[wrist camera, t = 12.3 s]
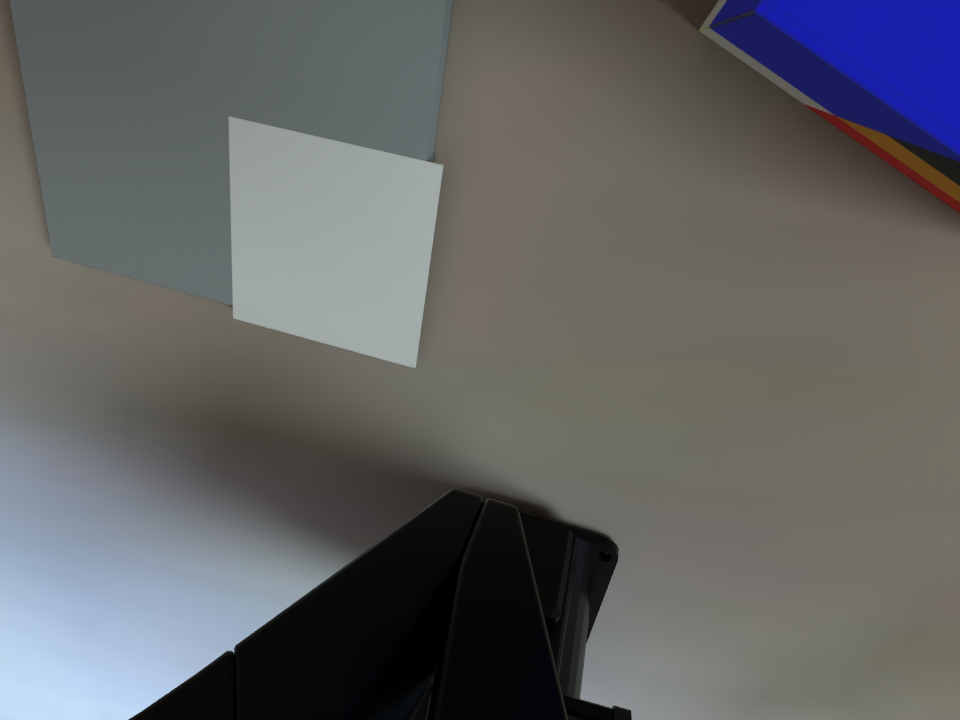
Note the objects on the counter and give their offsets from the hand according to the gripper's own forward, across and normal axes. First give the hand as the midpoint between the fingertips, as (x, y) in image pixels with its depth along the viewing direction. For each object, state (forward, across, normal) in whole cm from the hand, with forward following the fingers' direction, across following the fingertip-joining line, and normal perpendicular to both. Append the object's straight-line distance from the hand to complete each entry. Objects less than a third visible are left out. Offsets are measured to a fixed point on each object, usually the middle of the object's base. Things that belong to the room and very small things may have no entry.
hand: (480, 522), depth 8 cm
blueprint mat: (+13, +12, -4) cm, 18 cm away
